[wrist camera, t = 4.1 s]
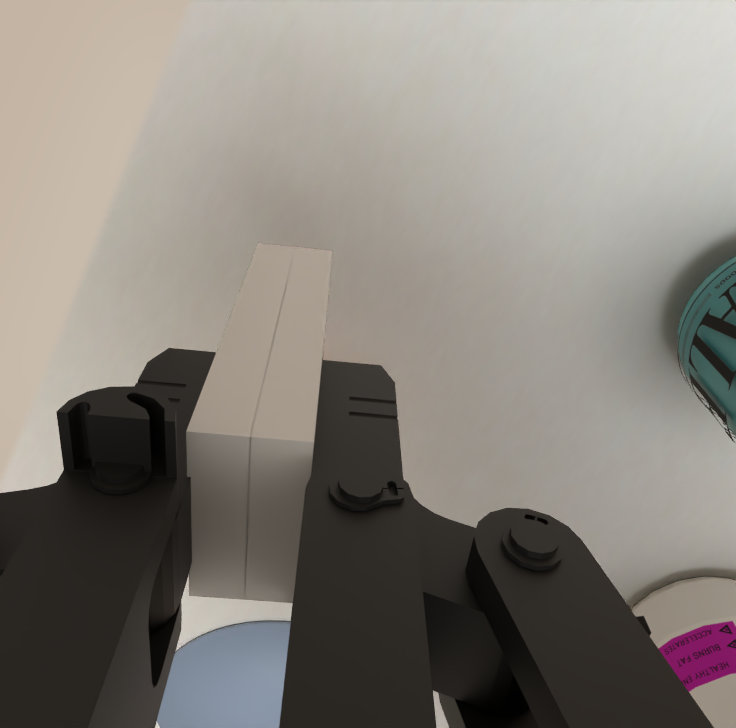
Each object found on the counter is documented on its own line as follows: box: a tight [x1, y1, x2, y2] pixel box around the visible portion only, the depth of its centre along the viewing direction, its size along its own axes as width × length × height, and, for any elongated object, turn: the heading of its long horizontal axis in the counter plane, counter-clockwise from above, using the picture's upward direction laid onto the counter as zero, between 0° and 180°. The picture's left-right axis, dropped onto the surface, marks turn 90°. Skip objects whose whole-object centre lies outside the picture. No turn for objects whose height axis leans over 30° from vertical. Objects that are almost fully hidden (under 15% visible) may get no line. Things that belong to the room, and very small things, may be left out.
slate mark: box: [157, 621, 291, 728], centre depth 37 cm, size 13×13×1 cm
